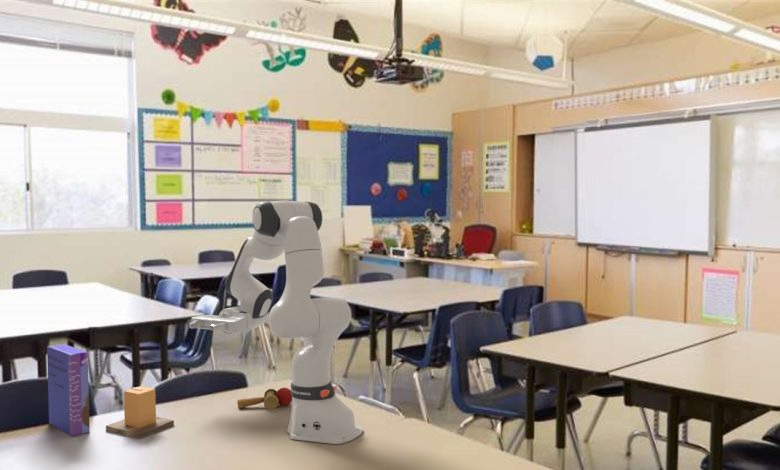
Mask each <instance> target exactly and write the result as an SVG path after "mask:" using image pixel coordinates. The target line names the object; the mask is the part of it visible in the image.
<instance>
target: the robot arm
mask: <svg viewBox="0 0 780 470" xmlns="http://www.w3.org/2000/svg"><path fill="white" fill-rule="evenodd" d="M252 225H253V228H254V233H253V235H251V236H249V237H247V238H246V239H245V240H244V242H243V243H242V245H241V247H240V249H239V252H238V254H237V257H236V258H235V260H234V264H233V265H232V268H231V271H230V272H229V274H227V277H226V279H225V282H224V289H225V292H226V293H227V294H228V295H230V296H231V297H233V298H235V299H236V300H237V301H238V302H240V303H241V304H240V305H239V306H233V307H228V308H227V307H226V308H224V309H222V310H221V311H220V312H219V314H218V315H213V314H205V315H204V314H203V315H196V316H192V317H191V318H190V323H189V325H188V326H189V327H188V328H189V329H199V330H210V331H214V332H216V331H218V332H219V331H221V332H222V333H224V334H226V335H232V334H237V333H250V332H251V330H254V329H256V328H258V327H260V326H262V325H264V324H265V323H266V322H268V327H269V330H270V331H271V334H273V335H274V336H275V337H277V338H280V339H281V338H282V339H290V340H293V339H299V338H307V340H306V342H305V344H303V346H302V347H301V348H299V350H297V351H296V352H295V353H294V354H293V356H292V357H293V358H292V359H291V360H292V361H291V368H292V369H291V370H292V373H291V375H292V376H291V377H292V379H291V381H292V382H291V383H290V390H291V397H292V402H291V408H290V409H291V410H290V416H289V417H290V418H289V422H288V426H287V429H286V431H287V433H288V434H289V439H291V440H299V441H304V442H306V441H307V442H312V443H321V444H323V443H324V444H331V445H341V444H345V443H348V442H351V441H352V440H355V439H356V438H358V437H359V436H360V435H362V433H363V430H364V429H363V427H362V426H360V425H357V424H356V421H355V416H354V412H353V410H352V409H351V408H350V407H349V406H347V405H346V404H345V403H344V402H343V401H342V400H341V399H340V398H339V397H338V396H337V395H336V392H335V391H336V390H338V387H339V386H338V385H334V386H333V384H332V381H331V379H330V378H331V377H330V376H331V358H332V353H333V349H334V347H335V345H336V342H337V340H338V338H339V337H340V336H341V335H342V333H344V331H346V329H347V328H348V327H349V326H350V323H351V321H352V310H351V307H350V305H349V304H348V302H347V301H346V300H345V299H343V298H339V297H332V296H331V297H330V296H328V297H327V296H324V297H314V298H311V292H312V290H313V287H315V286H316V285H319V283H320V282H321V281H322V280H323V278H324V275H325V268H324V267H325V266H324V258H323V251H322V250H323V249H322V243H321V239H320V238H321V237H320V234H319V230H320V229H321V228H322V225H323V212H322V209H321V208H320V205H318V203H315V202H312V201H308V200H307V201H296V200H286V199H283V200H273V201H269V200H267V201H262V202H258V203H257V204H256V205H255V206H254V208H253V210H252ZM283 253H284V261H285V274H286V276H285V277H286V279H285V286H284V290H283V292H282V295H281V297H280V298H279V300H278V301H277V302H276V303H275V304H274V305H273V300H274V296H273V291H272V290H271V289H270V288H269V287H267V286H266V285H265V284H264V283H262V282H261V281H260V280H258V279H257V278H255V277H254V276H253V274H251V272H250V269H251V268H250V267H251V265H252V263H253V261H254V259H257V260H260V261H261V260H262V261H270V260H275V259H278V258H279V257H280V256H282V254H283ZM272 305H273V306H272Z"/></svg>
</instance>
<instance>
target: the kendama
mask: <svg viewBox="0 0 780 470" xmlns="http://www.w3.org/2000/svg"><path fill="white" fill-rule="evenodd" d="M262 403H263V405H264V407H265V408H266V409H267V410H274V409H277V407H278V406H281V407H287V406H289V405H290V404H292V397H291V388H290V389H289V388H288V387H281V388H279V389H277V390H276V389H274V388H268V389H266V390H265V392H264V396H258V397H257V396H256V397H248V398H243V399H239V398H238V399H237V408H238V409H239V408H240V409H244V408H247V407H250V406H251V407H252V406H255V405H259V404H262Z"/></svg>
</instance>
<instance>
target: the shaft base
mask: <svg viewBox="0 0 780 470" xmlns="http://www.w3.org/2000/svg"><path fill="white" fill-rule="evenodd" d="M174 422H175V420H174V419H173V420H172V419H168V418H165V417H160V416H156V422H154V423H151V424H149V425H146V426H143V427H141V428H138V427H134V426H130V425H125V418H124V419H121V420H119V421H116V422H113V423H110V424H108V425H106V426H105V431H106V432H110V433H113V434H114V433H115V434H118V435H122V436H126V437H130V438H134V439H138V440H139V439H143V438H145V437H147V436H150V435H152V434H155V433H158V432H160V431H162V430H165V429H167V428H170V427H173V426H175V423H174Z"/></svg>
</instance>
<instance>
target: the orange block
mask: <svg viewBox="0 0 780 470" xmlns="http://www.w3.org/2000/svg"><path fill="white" fill-rule="evenodd" d="M123 396H124V397H123V400H124V401H123V403H124V404H123V406H124V407H123V408H124V411H123V412H124V419H125V425H130V426H134V427H138V428H141V427H143V426H146V425H149V424H151V423H154V422H156V417H157V407H156V406H157V404H156V403H157V401H156V399H157V398H156V388H152V387H147V386H142V385H139V386H136V387H132V388H130V389H126V390H124V391H123Z"/></svg>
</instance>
